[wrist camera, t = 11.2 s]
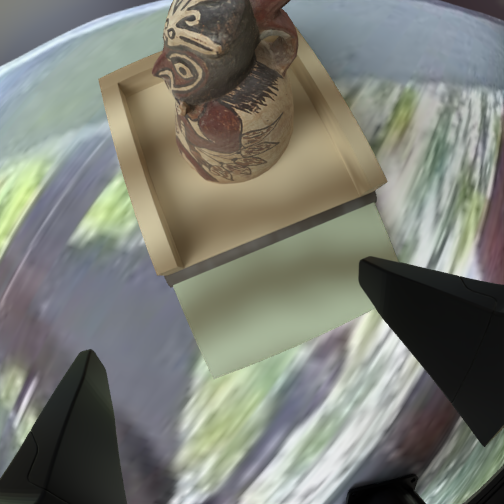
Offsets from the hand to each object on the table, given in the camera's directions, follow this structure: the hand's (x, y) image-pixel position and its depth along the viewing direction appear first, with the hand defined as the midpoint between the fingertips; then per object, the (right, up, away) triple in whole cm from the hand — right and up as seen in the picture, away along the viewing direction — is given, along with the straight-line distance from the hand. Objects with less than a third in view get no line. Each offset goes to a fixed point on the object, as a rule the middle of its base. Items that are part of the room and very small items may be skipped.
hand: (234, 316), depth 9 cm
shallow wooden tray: (0, +6, +11) cm, 13 cm away
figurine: (-1, +9, +10) cm, 14 cm away
